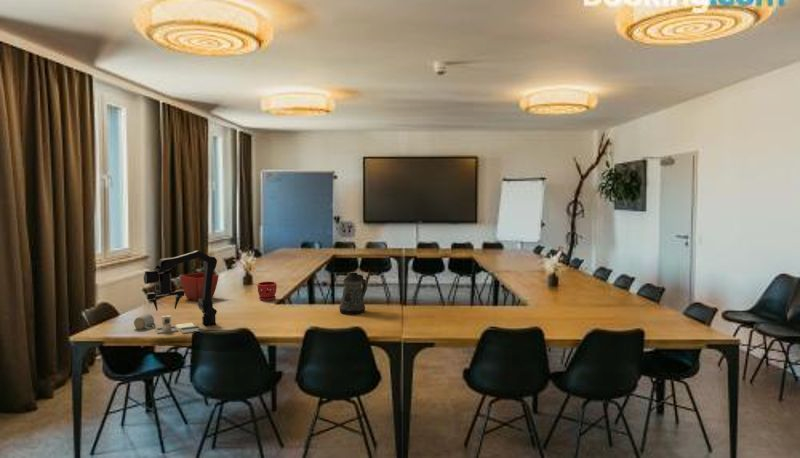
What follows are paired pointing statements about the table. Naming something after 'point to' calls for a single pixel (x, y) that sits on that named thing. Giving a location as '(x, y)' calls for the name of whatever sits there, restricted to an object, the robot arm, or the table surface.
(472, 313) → the table surface
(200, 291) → the plant pot
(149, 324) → the ceramic mug
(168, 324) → the tan rectangular block
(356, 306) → the beer stein
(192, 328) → the tray
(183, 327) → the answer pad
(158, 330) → the tray
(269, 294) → the plant pot
